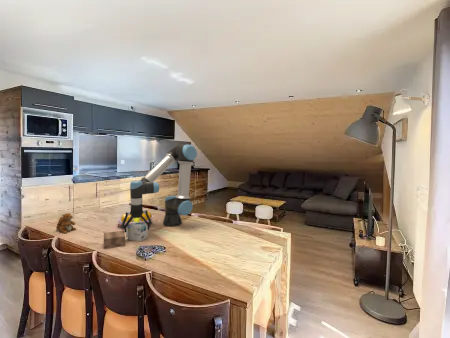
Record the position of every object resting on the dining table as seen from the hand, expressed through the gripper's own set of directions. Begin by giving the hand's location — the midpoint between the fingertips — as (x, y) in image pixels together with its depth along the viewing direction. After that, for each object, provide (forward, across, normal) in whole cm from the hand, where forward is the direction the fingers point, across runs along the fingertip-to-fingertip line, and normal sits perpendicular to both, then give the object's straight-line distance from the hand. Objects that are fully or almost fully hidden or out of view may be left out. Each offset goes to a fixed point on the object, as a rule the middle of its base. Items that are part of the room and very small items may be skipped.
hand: (137, 235), depth 164 cm
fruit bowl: (+3, -3, -33) cm, 33 cm away
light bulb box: (+3, 0, 0) cm, 3 cm away
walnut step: (+2, +14, +3) cm, 15 cm away
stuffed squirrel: (+3, +46, -38) cm, 60 cm away
